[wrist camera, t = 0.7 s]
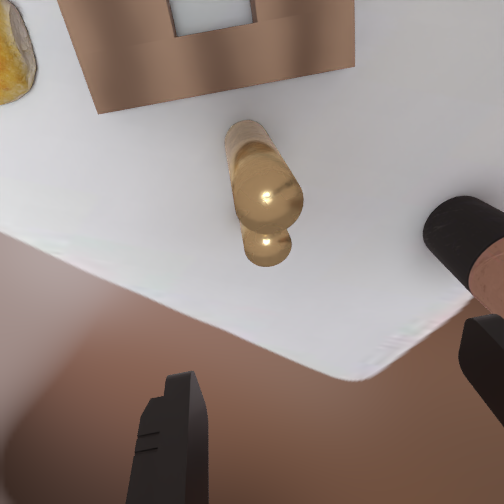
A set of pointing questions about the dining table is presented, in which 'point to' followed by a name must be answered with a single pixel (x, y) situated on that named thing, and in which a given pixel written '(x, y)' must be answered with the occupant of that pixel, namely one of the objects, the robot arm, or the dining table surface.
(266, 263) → the short pin
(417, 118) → the dining table surface
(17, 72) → the bread roll
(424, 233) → the travel mug
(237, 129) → the tall pin
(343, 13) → the hole board
